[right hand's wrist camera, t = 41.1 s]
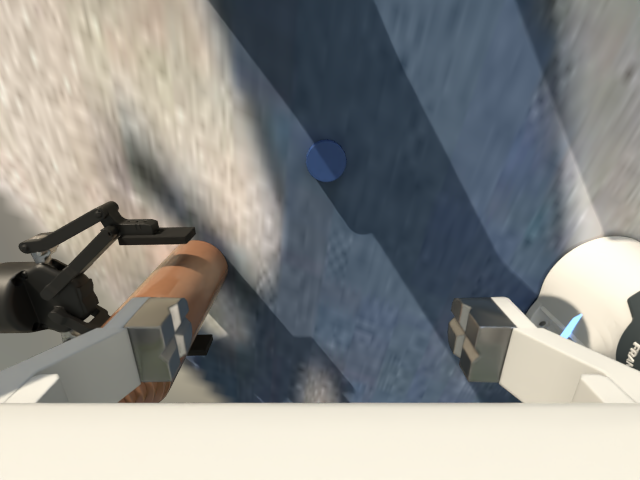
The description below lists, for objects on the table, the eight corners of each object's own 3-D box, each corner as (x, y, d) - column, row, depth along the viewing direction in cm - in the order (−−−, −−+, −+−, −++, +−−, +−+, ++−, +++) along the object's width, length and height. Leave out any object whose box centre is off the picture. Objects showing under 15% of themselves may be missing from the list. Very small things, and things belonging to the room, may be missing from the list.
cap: (312, 183, 39) (312, 187, 37) (301, 145, 37) (301, 147, 35) (349, 173, 38) (350, 176, 36) (340, 134, 37) (341, 135, 35)
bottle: (176, 232, 41) (22, 378, 19) (234, 250, 42) (148, 409, 20) (164, 281, 43) (17, 458, 22) (220, 298, 44) (130, 482, 23)
